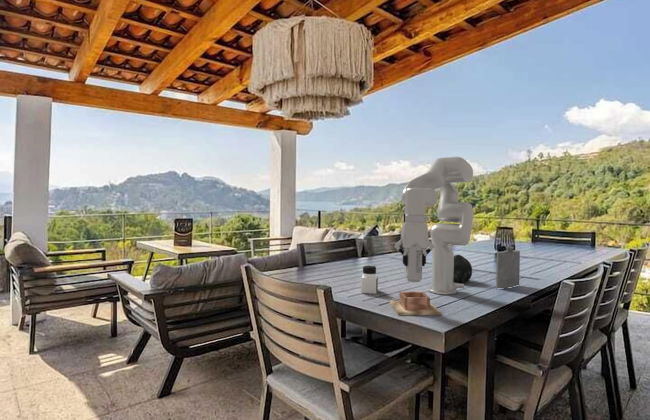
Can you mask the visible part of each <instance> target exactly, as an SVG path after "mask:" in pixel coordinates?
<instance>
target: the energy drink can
mask: <svg viewBox="0 0 650 420" xmlns="http://www.w3.org/2000/svg"><path fill="white" fill-rule="evenodd" d="M407 256H408V263H407V266H405V278H406V280H407V281H408V282H411V283H420V282H421V280H422V279H423V266H422V247H421V246H420V245H418V243H414V244H413V245H412V246H411V247H410V248H409V249H408V252H407Z"/></svg>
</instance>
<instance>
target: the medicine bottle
mask: <svg viewBox="0 0 650 420" xmlns="http://www.w3.org/2000/svg"><path fill="white" fill-rule="evenodd" d="M378 276H379V275H377V266H375V265H372V264H371V265H369V264H368V265H364V266H363V267H362V276H361V277H360V293H361V294H371V295H372V294H374V295H375V294H376V295H377V293H378V286H379V283H378V281H379V277H378Z"/></svg>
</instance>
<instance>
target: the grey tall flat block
mask: <svg viewBox="0 0 650 420" xmlns="http://www.w3.org/2000/svg"><path fill="white" fill-rule="evenodd" d="M520 261H521V250H518V249H517V250H516V249H515V247H514V246H511V245H510V246H507V245H506V246H505V250H502V251H497V252H496V277H495V278H496V282H495V283H496V285H495V287H496V288H508V287H513V286H516V285H519V286H520V265H521V263H520Z"/></svg>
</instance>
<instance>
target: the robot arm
mask: <svg viewBox="0 0 650 420" xmlns="http://www.w3.org/2000/svg"><path fill="white" fill-rule="evenodd" d="M473 177H474V169H473V166H472V165H471V163H469V162H468V161H467V159H464V158H462V157H459V156H452V157H448V156H447V157H440V158H436V159H435V160H434V161H433V162H432V164H431V165H430V166H429V167H428V170H427V171H426V172H425V173H423V174H421V175H419V176H417V177H415V178H413V179H411V180H409V182H408V183H407V184H406V186H405V187H404V188H403V190H402V192H401V202H402V204H403V206H404V207H405V208H404V209H405V210H404V222H402V224H401V232H400V240H398V241H397V243H395V245H394V248H395V249H396V250H397V251H398V252H399V253H400V254H401V255H402V264H403V266H405V267H406V266H407V263H408V256H407V252H408V249H409V248H410V247H411V246H412V245H413V244H414V243H418V245H420V246H421V247H422V267H425V265H426V264H427V256H428V255H429V254H430V252H431V251H432V254H431V257H432V259H431V263H432V265H431V286H429V287H428V291H429V293H433V294H437V295H446V296H447V295H455V294H457V292H458V290H457V289H464V288H465V284H464V283H460V282H454V281H453V274H454V256H455V254H454V251H453V249H452V248H451V247H450V246H451V245H453V246H468V244H469V243H470V241H471V235H472V228H473V221H474V209H473V208H474V207H473V205H472V204H471V203H470V202H464V201H459V196H460V193H459V191H458V190H457V188H456V187H455V186H454V185H453V183H469V182H471V181H472V180H473ZM436 189H439V193H440V194H438V191H436ZM438 199H439V201H438ZM437 202H438V207H437V213H436V216H437V219H438V220H439V222H440V223H436V224H434V225H432V227H431V228H430V231H428V224H427V223H426V221H429V217H430V216H426V208H427V207H429V208H430V207H433V206H436V204H437ZM441 222H443V223H441ZM429 232H430V234H429ZM429 235H430V239H431V241H430V240H429ZM401 247H402V248H401Z"/></svg>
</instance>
